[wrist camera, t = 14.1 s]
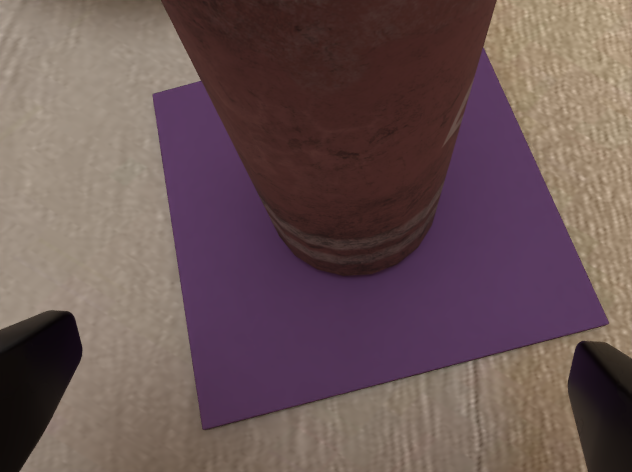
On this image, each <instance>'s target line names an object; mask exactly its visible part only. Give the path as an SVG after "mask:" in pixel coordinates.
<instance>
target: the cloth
mask: <svg viewBox="0 0 632 472" xmlns="http://www.w3.org/2000/svg"><path fill="white" fill-rule="evenodd" d="M153 101H154V108H155V115H156V121H157V128H158V135H159V142H160V148H161V155H162V162H163V168H164V175H165V182H166V188H167V195H168V202H169V208H170V215H171V222H172V228H173V235H174V242H175V248H176V255H177V262H178V269H179V275H180V282H181V289H182V295H183V302H184V309H185V315H186V322H187V329H188V335H189V342H190V349H191V355H192V362H193V369H194V376H195V382H196V389H197V396H198V402H199V409H200V416H201V422H202V429H203V430H206V429H210V428H214V427H218V426H221V425H225V424H229V423H233V422H237V421H241V420H244V419H248V418H252V417H256V416H260V415H264V414H267V413H271V412H275V411H279V410H283V409H287V408H290V407H294V406H298V405H302V404H306V403H310V402H313V401H317V400H321V399H325V398H329V397H333V396H336V395H340V394H344V393H348V392H352V391H356V390H359V389H363V388H367V387H371V386H375V385H379V384H382V383H386V382H390V381H394V380H398V379H402V378H405V377H409V376H413V375H417V374H421V373H425V372H428V371H432V370H436V369H440V368H444V367H448V366H451V365H455V364H459V363H463V362H467V361H471V360H474V359H478V358H482V357H486V356H490V355H494V354H497V353H501V352H505V351H509V350H513V349H516V348H520V347H524V346H528V345H532V344H536V343H539V342H543V341H547V340H551V339H555V338H559V337H562V336H566V335H570V334H574V333H578V332H582V331H585V330H589V329H593V328H597V327H601V326H605V325H607V324H609V322H608V320H607V317H606V315H605V313H604V311H603V309H602V306H601V304H600V302H599V300H598V298H597V295H596V293H595V291H594V289H593V287H592V284H591V282H590V280H589V278H588V276H587V273H586V271H585V269H584V267H583V265H582V263H581V260H580V258H579V256H578V254H577V252H576V249H575V247H574V245H573V243H572V241H571V238H570V236H569V234H568V232H567V230H566V227H565V225H564V223H563V221H562V219H561V216H560V214H559V212H558V210H557V208H556V206H555V203H554V201H553V199H552V197H551V195H550V192H549V190H548V188H547V186H546V184H545V181H544V179H543V177H542V175H541V173H540V170H539V168H538V166H537V164H536V162H535V160H534V157H533V155H532V153H531V151H530V149H529V146H528V144H527V142H526V140H525V138H524V135H523V133H522V131H521V129H520V127H519V124H518V122H517V120H516V118H515V116H514V113H513V111H512V109H511V107H510V105H509V103H508V100H507V98H506V96H505V94H504V92H503V89H502V87H501V85H500V83H499V81H498V78H497V76H496V74H495V72H494V70H493V67H492V65H491V63H490V61H489V59H488V56H487V54H486V52H485V50H484V48H483V49H482V53H481V56H480V60H479V63H478V67H477V70H476V74H475V77H474V80H473V84H472V87H471V91H470V94H469V98H468V101H467V105H466V108H465V112H464V115H463V119H462V122H461V126H460V129H459V133H458V136H457V140H456V143H455V147H454V150H453V154H452V157H451V161H450V164H449V167H448V171H447V174H446V178H445V181H444V185H443V188H442V192H441V195H440V199H439V202H438V206H437V209H436V213H435V216H434V220H433V223H432V226H431V228H430V229H429V231H428V232H427V234H426V236H425V237H424V239H423V240H422V242H421V244H420V245H419V247H418V248H417V249H416V250H414V251H413V252H412V253H411V254H409V255H408V256H407V257H406V258H404V259H403V260H402V261H401V262H399V263H398V264H397V265H394V266H392V267H389V268H386V269H384V270H381V271H379V272H376V273H373V274H368V275H352V276H342V275H338V274H333V273H329V272H325V271H321V270H317V269H316V268H314V267H312V266H311V265H309V264H308V263H306V262H304V261H303V260H301V259H300V258H298V257H296V256H295V255H294V254H293V253H292V251H291V250H290V249H289V248H288V246H287V245H286V244H285V243H284V242H283V240H282V239H281V238H280V237H279V235H278V233H277V231H276V229H275V227H274V225H273V223H272V221H271V219H270V217H269V215H268V213H267V211H266V209H265V207H264V205H263V203H262V201H261V199H260V197H259V195H258V193H257V191H256V189H255V187H254V185H253V183H252V181H251V179H250V177H249V175H248V173H247V171H246V169H245V167H244V165H243V163H242V161H241V159H240V157H239V155H238V153H237V151H236V149H235V147H234V145H233V143H232V141H231V139H230V137H229V135H228V133H227V131H226V129H225V127H224V125H223V123H222V121H221V119H220V117H219V115H218V113H217V111H216V109H215V107H214V105H213V103H212V101H211V99H210V97H209V95H208V93H207V91H206V89H205V87H204V85H203V83H202V81H199V82H195V83H192V84H188V85H184V86H180V87H177V88H173V89H169V90H166V91H162V92H158V93H155V94H153Z"/></svg>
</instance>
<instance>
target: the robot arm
mask: <svg viewBox="0 0 632 472" xmlns="http://www.w3.org/2000/svg"><path fill="white" fill-rule="evenodd" d="M81 357H82V344H81V340H80V336H79V332H78V328H77V325H76V321H75V318H74V316H73V314H72V313H70V312H68V311H54V310H50V311H46V312H43V313H41V314H38V315H36V316H33V317H31V318H28V319H26V320H24V321H21V322H19V323H16V324H14V325H11V326H9V327H6V328H4V329H1V330H0V472H19V471H20V470H21V468H22V467H23V465H24V464H25V462H26V460H27V459H28V457H29V456H30V454H31V452H32V451H33V449H34V448H35V446H36V445H37V443H38V441H39V440H40V438H41V436H42V435H43V433H44V431H45V429H46V428H47V426H48V424H49V422H50V420H51V418H52V416H53V414H54V412H55V410H56V408H57V406H58V404H59V402H60V400H61V398H62V396H63V394H64V392H65V390H66V388H67V386H68V384H69V382H70V380H71V378H72V376H73V374H74V373H75V371H76V369H77V367H78V365H79V363H80V360H81ZM568 394H569V398H570V402H571V406H572V410H573V414H574V418H575V422H576V426H577V430H578V434H579V438H580V441H581V445H582V449H583V453H584V457H585V461H586V465H587V469H588V472H632V359H631V358H630V357H628V356H627V355H625V354H624V353H622V352H620V351H619V350H617V349H616V348H614V347H613V346H611V345H609V344H608V343H605V342H592V341H581V342H580V343H578V345H577V346H576V349H575V353H574V357H573V361H572V366H571V370H570V374H569V379H568Z"/></svg>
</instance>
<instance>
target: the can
mask: <svg viewBox="0 0 632 472" xmlns="http://www.w3.org/2000/svg"><path fill="white" fill-rule="evenodd" d="M161 1H162V3H163V5H164V7H165V9H166V11H167V13H168V15H169V17H170V19H171V21H172V23H173V25H174V27H175V29H176V31H177V33H178V35H179V37H180V39H181V41H182V43H183V45H184V47H185V49H186V51H187V53H188V55H189V57H190V59H191V61H192V63H193V65H194V67H195V69H196V71H197V73H198V75H199V77H200V79H201V81H202V83H203V85H204V87H205V89H206V91H207V93H208V95H209V97H210V99H211V101H212V103H213V105H214V107H215V109H216V111H217V113H218V115H219V117H220V119H221V121H222V123H223V125H224V127H225V129H226V131H227V133H228V135H229V137H230V139H231V141H232V143H233V145H234V147H235V149H236V151H237V153H238V155H239V157H240V159H241V161H242V163H243V165H244V167H245V169H246V171H247V173H248V175H249V177H250V179H251V181H252V183H253V185H254V187H255V189H256V191H257V193H258V195H259V197H260V199H261V201H262V203H263V205H264V207H265V209H266V211H267V213H268V215H269V217H270V219H271V221H272V223H273V225H274V227H275V229H276V231H277V233H278V235H279V237H280V238H281V239H282V240H283V242H284V243H285V244H286V245H287V246H288V248H289V249H290V250H291V251H292V253H293V254H294V255H295V256H296V257H298V258H300V259H301V260H303V261H304V262H306V263H308V264H309V265H311V266H312V267H314V268H316V269H317V270H321V271H325V272H329V273H333V274H338V275H342V276H352V275H368V274H373V273H376V272H379V271H381V270H384V269H386V268H389V267H392V266H394V265H397V264H398V263H399V262H401V261H402V260H403V259H404V258H406V257H407V256H408V255H409V254H411V253H412V252H413V251H414V250H416V249H417V248H418V247H419V245H420V244H421V242H422V240H423V239H424V237H425V236H426V234H427V232H428V231H429V229H430V228H431V226H432V223H433V220H434V216H435V213H436V209H437V206H438V202H439V199H440V195H441V192H442V188H443V185H444V181H445V178H446V174H447V171H448V167H449V164H450V161H451V157H452V154H453V150H454V147H455V143H456V140H457V136H458V133H459V129H460V126H461V122H462V119H463V115H464V112H465V108H466V105H467V101H468V98H469V94H470V91H471V87H472V84H473V80H474V77H475V74H476V70H477V67H478V63H479V60H480V56H481V53H482V49H483V46H484V42H485V39H486V35H487V32H488V28H489V25H490V21H491V18H492V14H493V11H494V7H495V4H496V0H161Z"/></svg>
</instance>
